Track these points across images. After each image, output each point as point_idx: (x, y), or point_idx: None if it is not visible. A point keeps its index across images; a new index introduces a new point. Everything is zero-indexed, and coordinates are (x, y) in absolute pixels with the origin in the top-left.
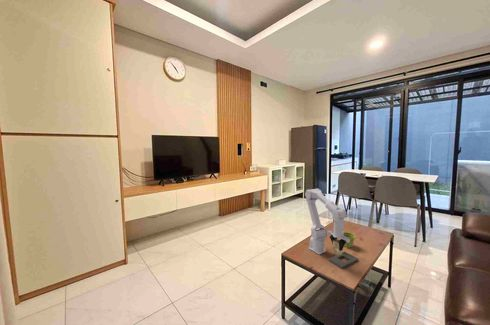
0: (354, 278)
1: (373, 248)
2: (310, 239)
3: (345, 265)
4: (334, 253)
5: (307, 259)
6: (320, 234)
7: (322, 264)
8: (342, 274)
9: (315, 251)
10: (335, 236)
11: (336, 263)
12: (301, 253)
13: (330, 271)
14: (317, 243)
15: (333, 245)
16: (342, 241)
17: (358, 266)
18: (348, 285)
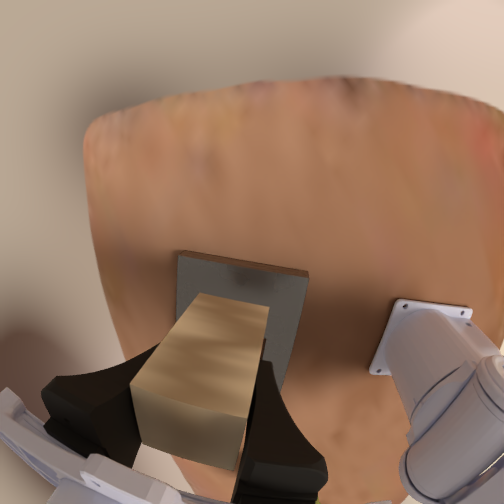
0: (101, 212)
1: (205, 484)
2: (499, 354)
3: (177, 288)
4: (241, 304)
5: (428, 164)
6: (465, 433)
7: (317, 187)
8: (155, 188)
9: (429, 307)
10: (102, 485)
11: (231, 264)
12: (484, 210)
13: (225, 149)
14: (449, 350)
15: (244, 362)
16: (49, 404)
17: (149, 346)
18: (97, 123)
